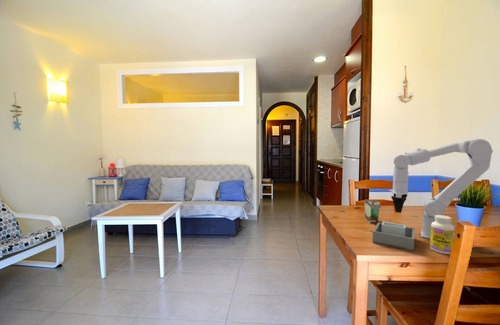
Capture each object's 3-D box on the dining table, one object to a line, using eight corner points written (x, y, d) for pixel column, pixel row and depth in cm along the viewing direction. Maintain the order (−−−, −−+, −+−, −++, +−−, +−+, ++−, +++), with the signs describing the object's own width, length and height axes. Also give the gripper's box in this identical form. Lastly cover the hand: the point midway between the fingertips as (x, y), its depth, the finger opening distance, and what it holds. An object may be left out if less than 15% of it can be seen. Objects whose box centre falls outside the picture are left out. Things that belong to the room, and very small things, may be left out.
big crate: (414, 238, 97) (414, 228, 96) (413, 251, 85) (414, 239, 85) (377, 232, 105) (378, 222, 104) (372, 242, 93) (372, 231, 93)
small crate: (405, 239, 94) (405, 225, 94) (404, 243, 91) (405, 228, 90) (382, 235, 99) (383, 221, 99) (381, 238, 95) (381, 224, 95)
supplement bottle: (428, 250, 85) (429, 216, 85) (431, 245, 90) (432, 213, 89) (452, 256, 80) (454, 220, 80) (454, 250, 85) (455, 216, 84)
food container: (384, 225, 115) (384, 205, 114) (370, 224, 116) (371, 204, 115) (376, 218, 127) (376, 200, 126) (363, 217, 128) (364, 199, 128)
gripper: (391, 179, 113) (390, 206, 114) (388, 182, 102) (386, 212, 103) (409, 180, 109) (407, 208, 110) (407, 183, 98) (406, 215, 98)
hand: (398, 210), depth 106 cm, fingers open, 7 cm apart
